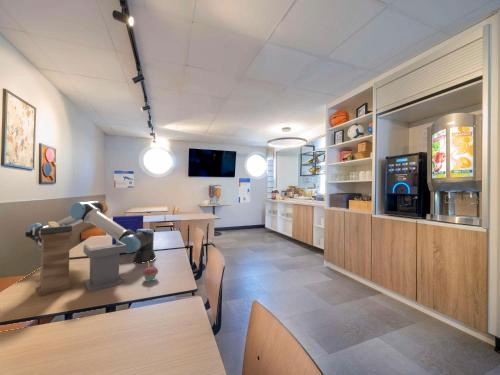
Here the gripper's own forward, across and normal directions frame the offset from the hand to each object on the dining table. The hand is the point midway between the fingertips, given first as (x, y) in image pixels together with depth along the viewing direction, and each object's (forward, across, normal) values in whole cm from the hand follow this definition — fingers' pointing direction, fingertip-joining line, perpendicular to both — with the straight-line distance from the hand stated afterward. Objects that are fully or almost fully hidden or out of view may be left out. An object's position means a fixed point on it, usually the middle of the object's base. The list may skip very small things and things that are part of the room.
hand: (49, 227), depth 133 cm
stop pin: (+20, 0, -9) cm, 22 cm away
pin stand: (+11, 0, -39) cm, 40 cm away
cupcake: (+33, -40, -51) cm, 73 cm away
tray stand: (+21, -20, -44) cm, 53 cm away
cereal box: (-24, -49, -18) cm, 58 cm away
